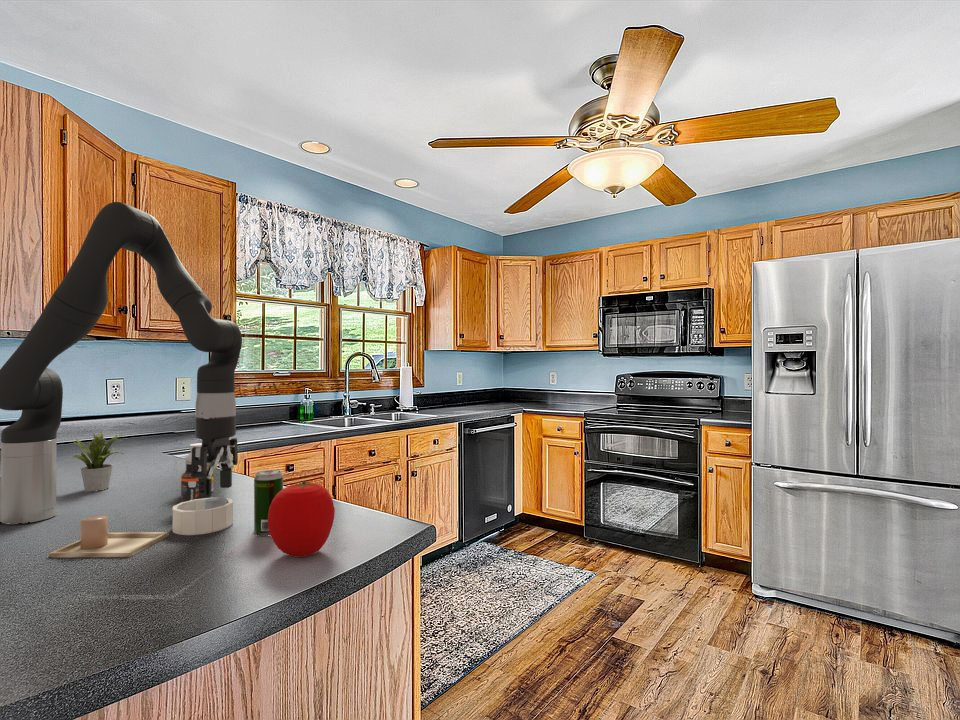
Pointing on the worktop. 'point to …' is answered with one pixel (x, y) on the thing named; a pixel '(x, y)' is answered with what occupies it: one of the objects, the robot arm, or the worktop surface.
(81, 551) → the parts tray
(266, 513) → the beer can
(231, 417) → the robot arm
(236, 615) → the worktop surface
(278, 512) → the red round fruit
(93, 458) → the house plant
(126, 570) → the worktop surface
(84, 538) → the beige cylinder
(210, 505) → the gray metal cylinder
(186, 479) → the supplement bottle
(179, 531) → the bowl
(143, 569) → the worktop surface
